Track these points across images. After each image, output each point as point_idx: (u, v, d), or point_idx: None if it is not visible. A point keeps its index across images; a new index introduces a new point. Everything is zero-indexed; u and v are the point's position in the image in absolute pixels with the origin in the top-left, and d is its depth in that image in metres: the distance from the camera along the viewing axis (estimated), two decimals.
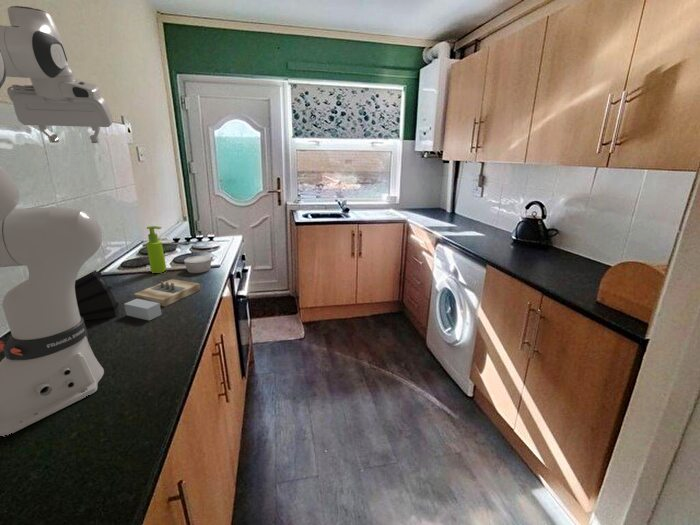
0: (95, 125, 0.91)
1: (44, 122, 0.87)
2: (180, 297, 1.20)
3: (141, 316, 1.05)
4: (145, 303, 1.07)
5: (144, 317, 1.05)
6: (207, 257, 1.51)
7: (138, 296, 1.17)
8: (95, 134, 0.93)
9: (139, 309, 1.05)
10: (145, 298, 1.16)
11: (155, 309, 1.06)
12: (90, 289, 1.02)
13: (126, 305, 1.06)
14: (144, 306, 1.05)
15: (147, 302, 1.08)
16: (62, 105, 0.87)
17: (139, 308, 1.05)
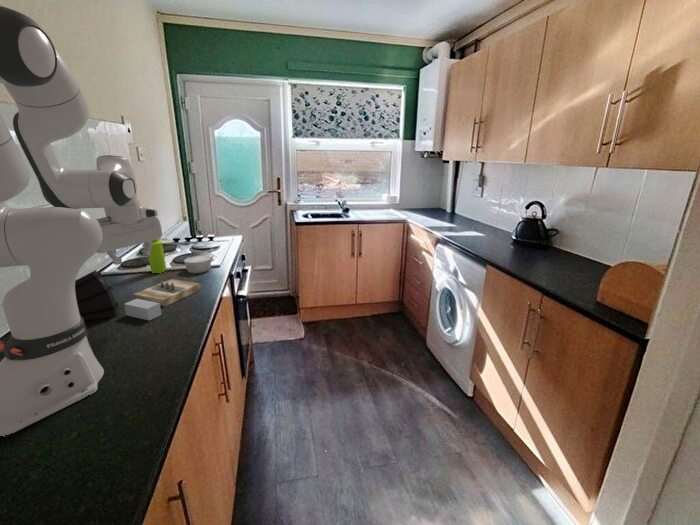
0: (153, 238, 1.06)
1: (118, 246, 0.96)
2: (180, 297, 1.20)
3: (141, 316, 1.05)
4: (145, 303, 1.07)
5: (144, 317, 1.05)
6: (207, 257, 1.51)
7: (138, 296, 1.17)
8: (150, 247, 1.06)
9: (139, 309, 1.05)
10: (145, 298, 1.16)
11: (155, 309, 1.06)
12: (90, 289, 1.02)
13: (126, 305, 1.06)
14: (144, 306, 1.05)
15: (147, 302, 1.08)
16: (132, 227, 0.99)
17: (139, 308, 1.05)
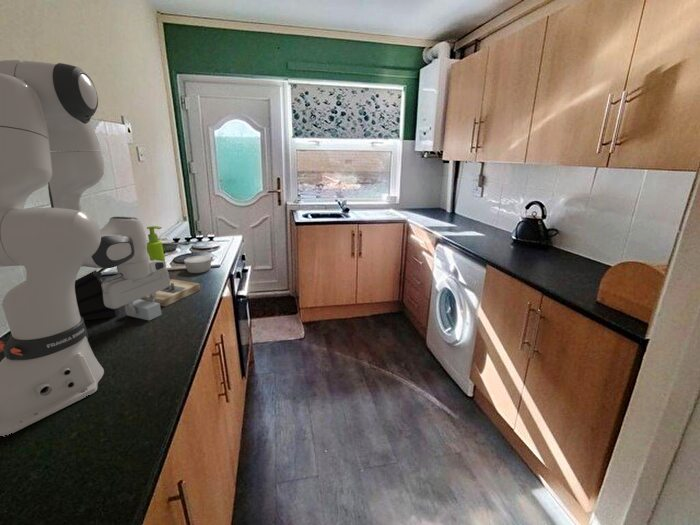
0: (161, 288, 1.11)
1: (130, 300, 1.01)
2: (180, 297, 1.20)
3: (141, 316, 1.05)
4: (145, 303, 1.07)
5: (144, 317, 1.05)
6: (207, 257, 1.51)
7: None
8: (154, 298, 1.10)
9: (139, 309, 1.05)
10: (145, 298, 1.16)
11: (155, 309, 1.06)
12: (90, 289, 1.02)
13: None
14: (144, 306, 1.05)
15: (147, 302, 1.08)
16: (142, 281, 1.04)
17: (139, 308, 1.05)
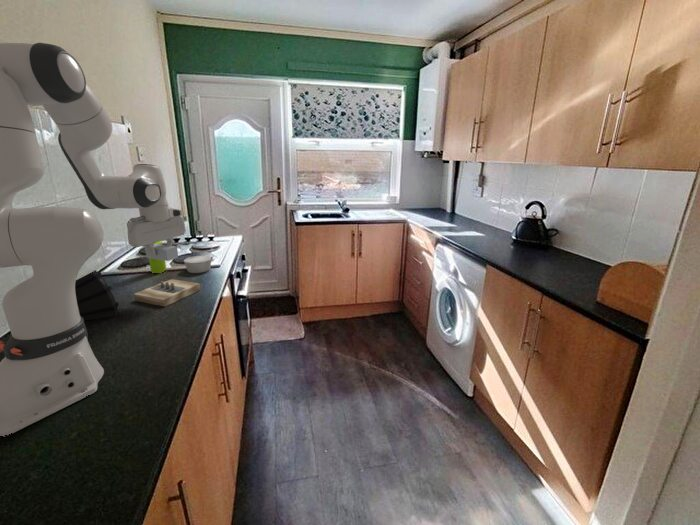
0: (178, 235, 1.22)
1: (151, 241, 1.12)
2: (180, 297, 1.20)
3: (160, 257, 1.16)
4: (163, 246, 1.18)
5: (163, 258, 1.16)
6: (207, 257, 1.51)
7: (138, 296, 1.17)
8: (171, 243, 1.21)
9: (158, 251, 1.16)
10: (145, 298, 1.16)
11: (173, 251, 1.17)
12: (90, 289, 1.02)
13: (146, 248, 1.18)
14: (163, 248, 1.16)
15: (165, 246, 1.19)
16: (161, 225, 1.16)
17: (158, 250, 1.16)
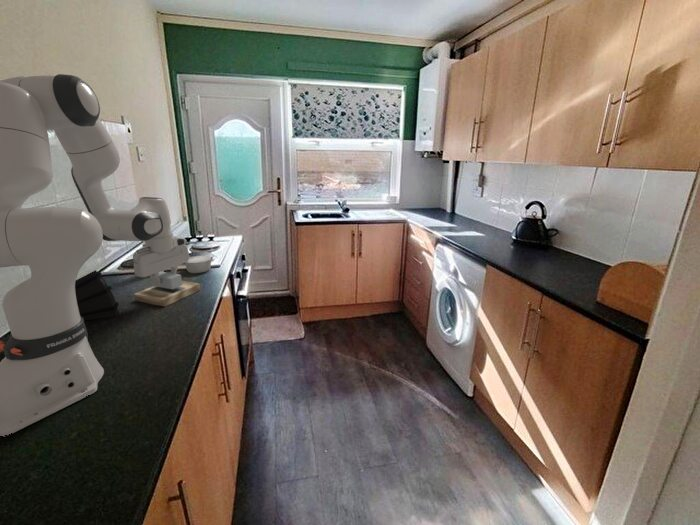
0: (182, 262, 1.25)
1: (156, 270, 1.15)
2: (180, 297, 1.20)
3: (165, 285, 1.20)
4: (168, 275, 1.21)
5: (168, 286, 1.19)
6: (207, 257, 1.51)
7: (138, 296, 1.17)
8: (175, 271, 1.24)
9: (163, 279, 1.19)
10: (145, 298, 1.16)
11: (177, 280, 1.20)
12: (90, 289, 1.02)
13: (151, 276, 1.21)
14: (167, 276, 1.19)
15: (170, 274, 1.22)
16: (166, 254, 1.19)
17: (163, 279, 1.19)
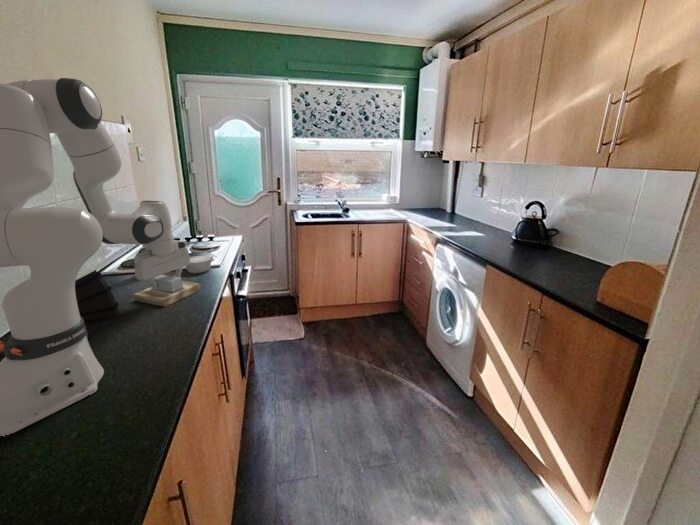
0: (182, 265, 1.26)
1: (157, 274, 1.16)
2: (180, 297, 1.20)
3: (165, 289, 1.20)
4: (169, 278, 1.21)
5: (168, 289, 1.19)
6: (207, 257, 1.51)
7: (138, 296, 1.17)
8: (180, 273, 1.26)
9: (164, 282, 1.19)
10: (145, 298, 1.16)
11: (178, 283, 1.20)
12: (90, 289, 1.02)
13: None
14: (168, 279, 1.20)
15: (170, 277, 1.22)
16: (167, 258, 1.19)
17: (164, 282, 1.19)
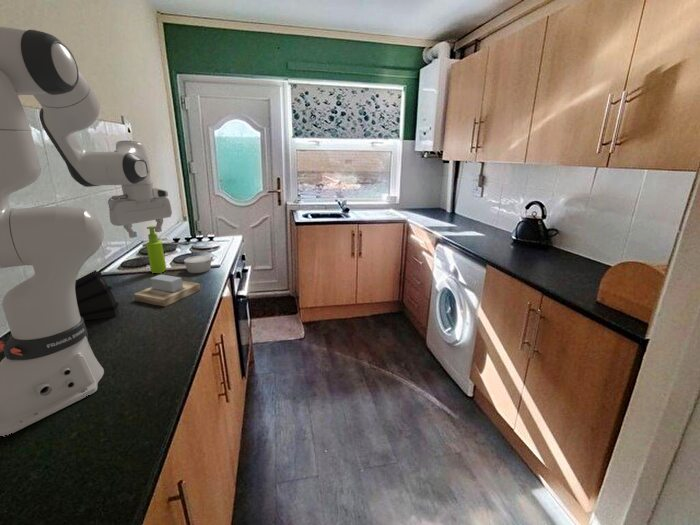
0: (163, 216, 1.19)
1: (134, 220, 1.09)
2: (180, 297, 1.20)
3: (165, 289, 1.20)
4: (169, 278, 1.21)
5: (168, 289, 1.19)
6: (207, 257, 1.51)
7: (138, 296, 1.17)
8: (161, 224, 1.20)
9: (164, 282, 1.19)
10: (145, 298, 1.16)
11: (178, 283, 1.20)
12: (90, 289, 1.02)
13: (152, 279, 1.21)
14: (168, 279, 1.20)
15: (170, 277, 1.22)
16: (145, 205, 1.13)
17: (164, 282, 1.19)
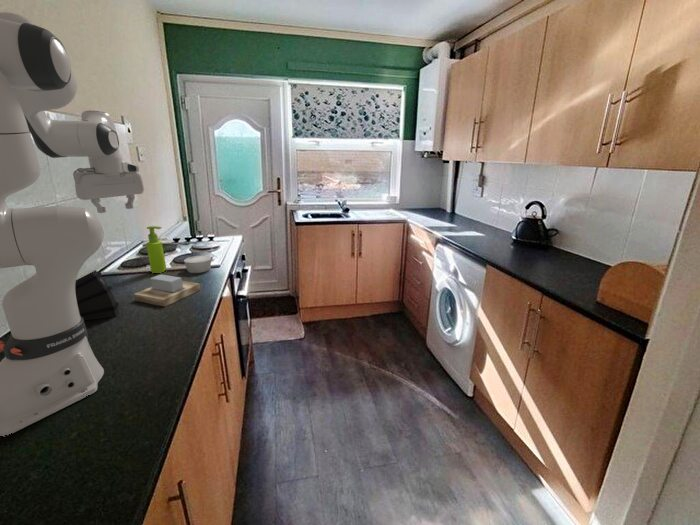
0: (135, 192, 1.16)
1: (102, 195, 1.06)
2: (180, 297, 1.20)
3: (165, 289, 1.20)
4: (169, 278, 1.21)
5: (168, 289, 1.19)
6: (207, 257, 1.51)
7: (138, 296, 1.17)
8: (132, 201, 1.16)
9: (164, 282, 1.19)
10: (145, 298, 1.16)
11: (178, 283, 1.20)
12: (90, 289, 1.02)
13: (152, 279, 1.21)
14: (168, 279, 1.20)
15: (170, 277, 1.22)
16: (114, 180, 1.09)
17: (164, 282, 1.19)
